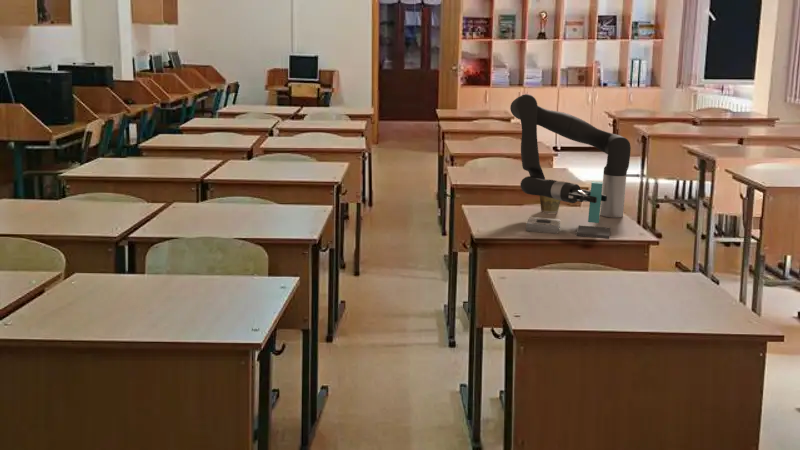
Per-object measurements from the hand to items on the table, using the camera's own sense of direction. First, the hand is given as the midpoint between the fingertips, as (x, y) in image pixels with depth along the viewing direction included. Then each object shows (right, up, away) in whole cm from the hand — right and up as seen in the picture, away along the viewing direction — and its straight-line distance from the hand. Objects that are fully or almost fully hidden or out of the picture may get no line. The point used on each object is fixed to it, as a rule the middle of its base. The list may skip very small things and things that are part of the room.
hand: (601, 199), depth 349 cm
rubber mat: (-2, -13, +5) cm, 14 cm away
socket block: (-20, -11, +9) cm, 25 cm away
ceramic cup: (-12, -4, +42) cm, 44 cm away
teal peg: (-2, -8, +4) cm, 9 cm away
